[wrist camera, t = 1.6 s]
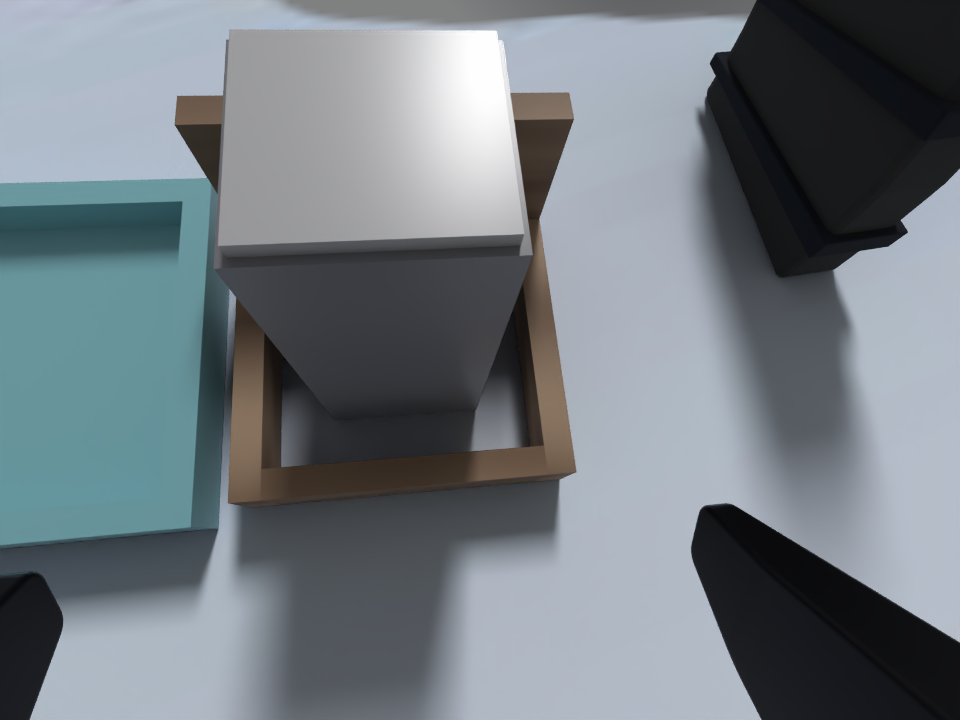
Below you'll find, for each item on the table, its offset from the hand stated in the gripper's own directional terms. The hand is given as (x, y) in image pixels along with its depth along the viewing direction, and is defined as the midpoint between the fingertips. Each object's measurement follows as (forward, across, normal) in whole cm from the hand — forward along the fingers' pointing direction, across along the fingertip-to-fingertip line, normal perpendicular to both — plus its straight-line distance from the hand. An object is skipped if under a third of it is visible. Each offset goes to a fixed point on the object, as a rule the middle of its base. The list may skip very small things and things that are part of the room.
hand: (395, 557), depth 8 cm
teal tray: (+15, +14, +4) cm, 20 cm away
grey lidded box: (+14, 0, +4) cm, 15 cm away
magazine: (+21, -18, -2) cm, 28 cm away
